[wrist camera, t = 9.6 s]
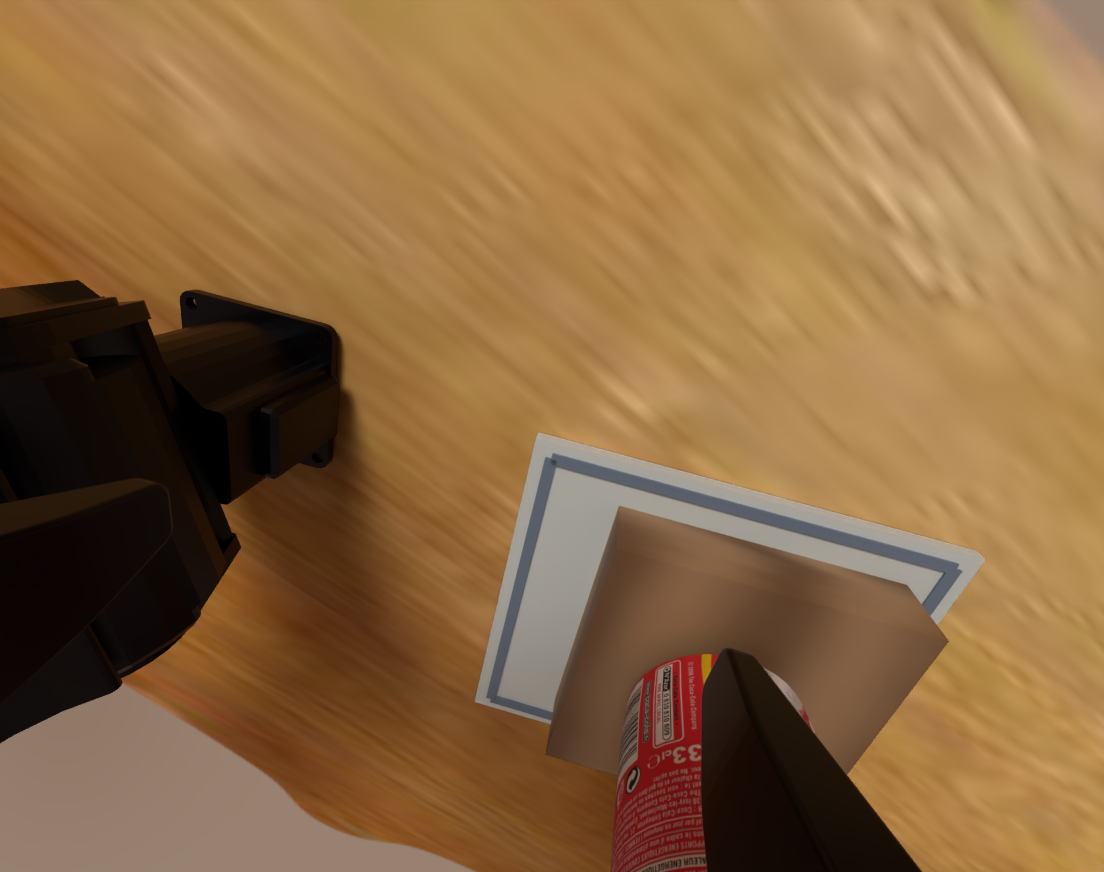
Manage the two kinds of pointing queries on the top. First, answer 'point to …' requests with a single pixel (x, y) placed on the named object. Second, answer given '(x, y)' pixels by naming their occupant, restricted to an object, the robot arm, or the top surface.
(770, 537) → the white blue bordered mat
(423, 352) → the top surface
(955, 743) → the top surface
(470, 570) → the top surface
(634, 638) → the plinth
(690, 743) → the soda can
